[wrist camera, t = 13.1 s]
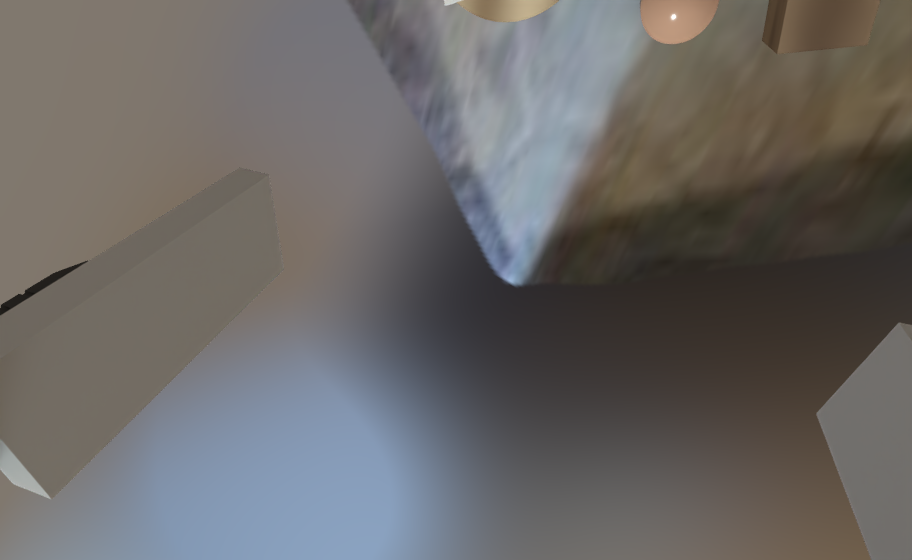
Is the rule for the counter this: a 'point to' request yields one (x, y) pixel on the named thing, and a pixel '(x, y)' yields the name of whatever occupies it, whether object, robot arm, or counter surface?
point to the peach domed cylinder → (676, 18)
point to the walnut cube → (818, 24)
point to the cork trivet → (506, 8)
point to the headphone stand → (450, 2)
